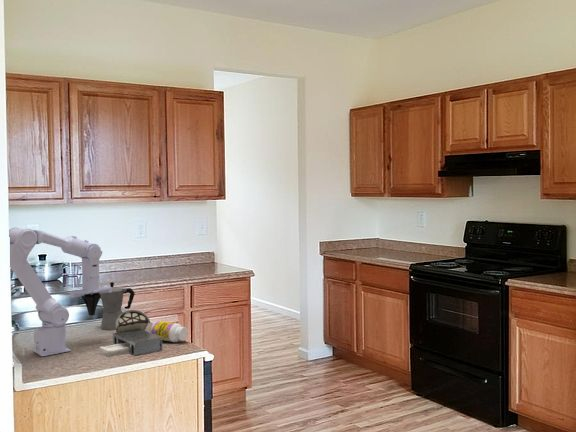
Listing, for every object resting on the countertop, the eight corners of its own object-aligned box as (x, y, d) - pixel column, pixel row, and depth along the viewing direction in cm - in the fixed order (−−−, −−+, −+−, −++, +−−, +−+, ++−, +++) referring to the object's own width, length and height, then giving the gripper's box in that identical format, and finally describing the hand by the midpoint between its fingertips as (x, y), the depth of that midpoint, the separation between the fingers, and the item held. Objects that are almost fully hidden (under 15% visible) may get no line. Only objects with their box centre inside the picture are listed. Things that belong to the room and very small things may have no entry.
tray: (108, 357, 187) (108, 351, 186) (99, 352, 191) (99, 346, 191) (141, 349, 195) (141, 344, 194) (133, 346, 199) (132, 340, 199)
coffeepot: (92, 330, 221) (91, 284, 220) (99, 324, 231) (99, 280, 230) (131, 330, 221) (131, 284, 220) (138, 324, 231) (137, 280, 230)
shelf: (135, 355, 188) (134, 342, 188) (113, 345, 200) (113, 333, 199) (162, 349, 194) (162, 337, 194) (139, 340, 206) (139, 328, 206)
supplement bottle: (154, 317, 208) (182, 321, 202) (164, 325, 213) (192, 328, 207) (147, 334, 204) (175, 338, 198) (157, 342, 209) (185, 346, 203)
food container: (140, 323, 215) (146, 306, 209) (145, 337, 211) (151, 319, 205) (107, 328, 208) (112, 310, 202) (111, 342, 204) (117, 324, 199)
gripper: (74, 280, 195) (75, 320, 196) (115, 276, 205) (115, 313, 206) (67, 278, 200) (67, 316, 201) (106, 273, 210) (107, 310, 211)
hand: (91, 314), depth 204 cm, fingers closed
